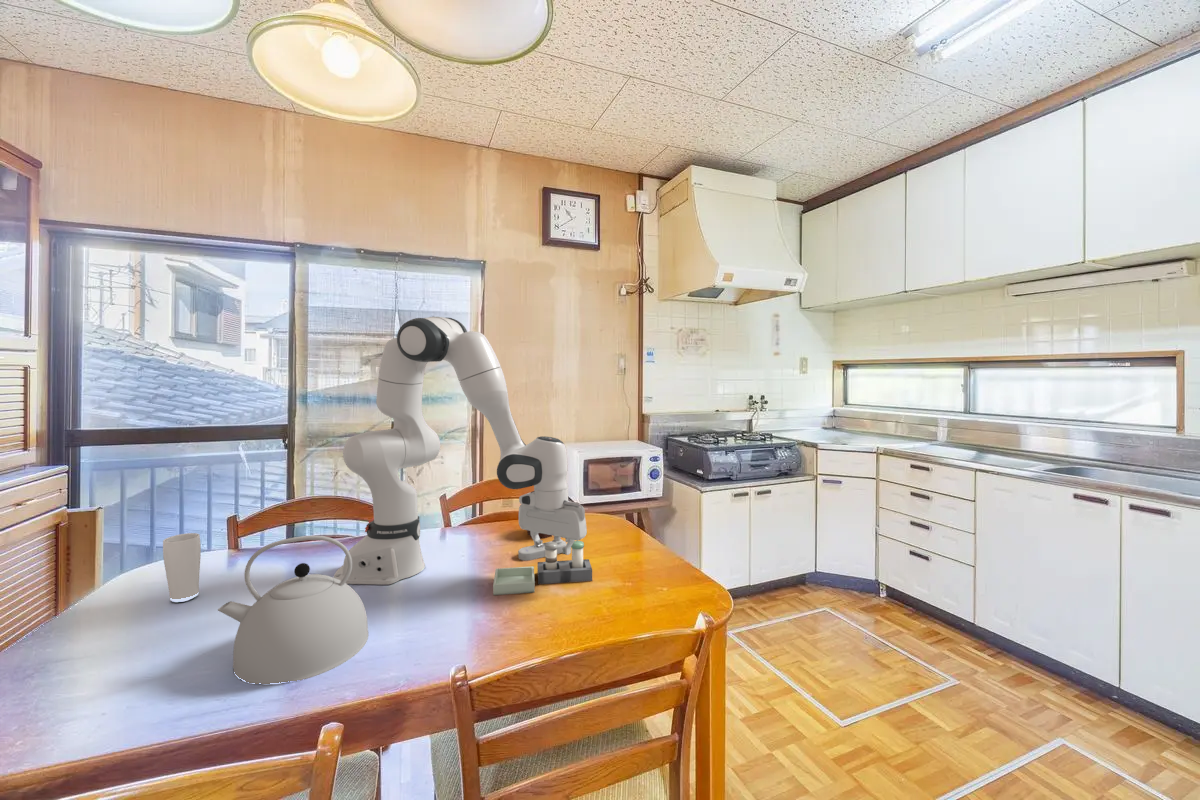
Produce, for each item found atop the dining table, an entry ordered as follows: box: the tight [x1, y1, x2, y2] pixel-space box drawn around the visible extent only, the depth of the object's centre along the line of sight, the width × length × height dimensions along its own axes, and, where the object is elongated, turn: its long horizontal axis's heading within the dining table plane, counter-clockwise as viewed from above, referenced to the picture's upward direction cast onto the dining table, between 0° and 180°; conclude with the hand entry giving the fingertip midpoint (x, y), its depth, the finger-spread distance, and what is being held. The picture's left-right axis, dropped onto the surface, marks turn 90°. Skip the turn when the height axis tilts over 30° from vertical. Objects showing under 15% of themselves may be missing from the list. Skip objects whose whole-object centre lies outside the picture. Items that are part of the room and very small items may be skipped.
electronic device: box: [517, 536, 567, 561], centre depth 144 cm, size 5×10×15 cm
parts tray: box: [492, 565, 536, 596], centre depth 123 cm, size 10×10×2 cm
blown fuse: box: [544, 541, 558, 570], centre depth 128 cm, size 3×3×9 cm
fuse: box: [571, 540, 585, 569], centre depth 129 cm, size 3×3×9 cm
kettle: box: [217, 535, 369, 684], centre depth 94 cm, size 25×23×22 cm
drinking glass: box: [162, 532, 202, 599], centre depth 115 cm, size 7×7×15 cm
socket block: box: [537, 558, 593, 585], centre depth 128 cm, size 14×7×3 cm, turn 99°
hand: (552, 550), depth 127 cm, fingers open, 8 cm apart
